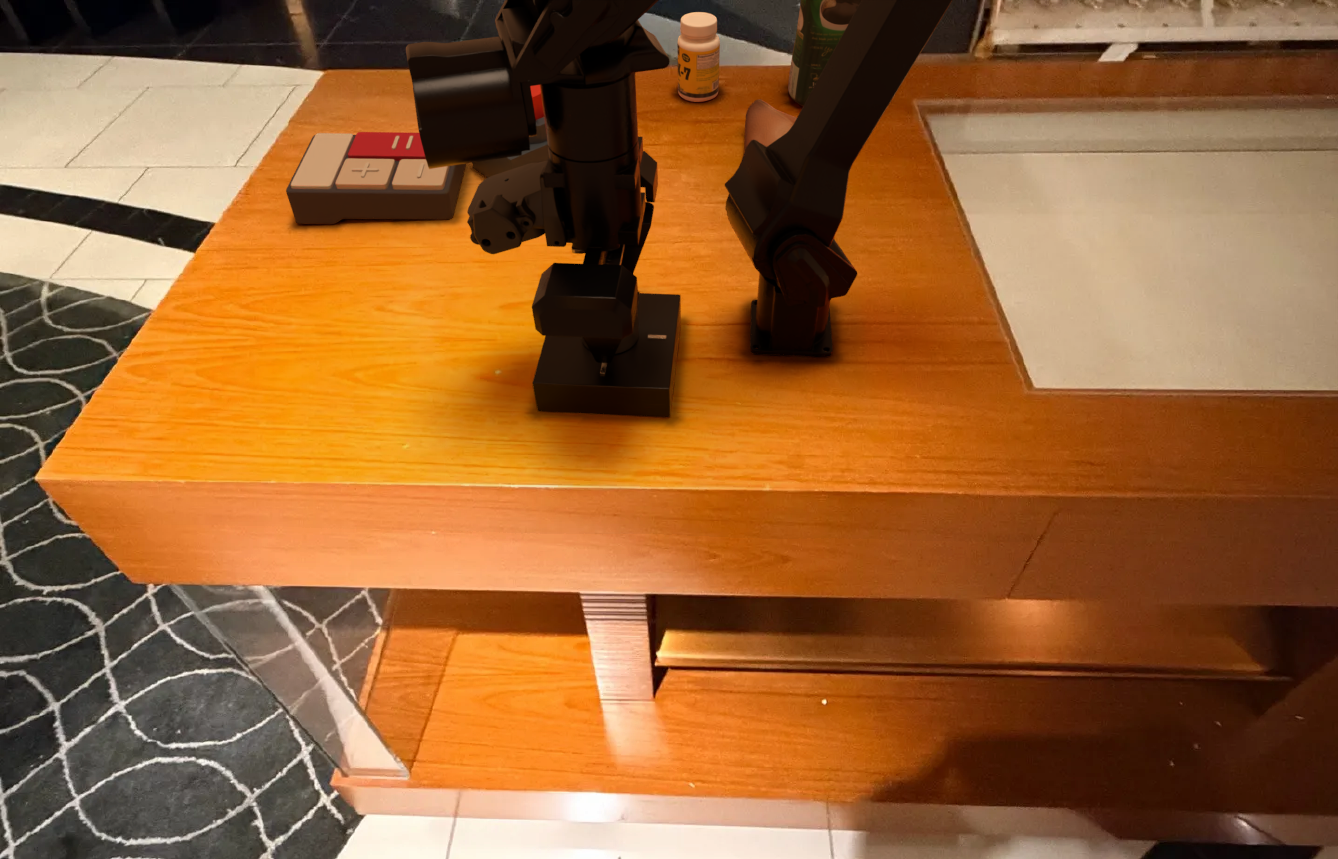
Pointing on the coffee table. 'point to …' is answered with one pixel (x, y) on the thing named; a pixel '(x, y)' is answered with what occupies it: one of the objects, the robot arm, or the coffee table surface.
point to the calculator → (371, 180)
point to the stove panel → (615, 368)
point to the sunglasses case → (766, 123)
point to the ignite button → (537, 101)
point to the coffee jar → (816, 42)
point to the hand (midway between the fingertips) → (609, 330)
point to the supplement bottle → (698, 57)
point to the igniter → (533, 155)
